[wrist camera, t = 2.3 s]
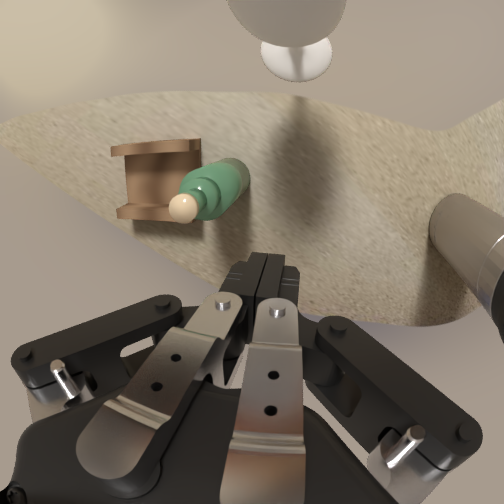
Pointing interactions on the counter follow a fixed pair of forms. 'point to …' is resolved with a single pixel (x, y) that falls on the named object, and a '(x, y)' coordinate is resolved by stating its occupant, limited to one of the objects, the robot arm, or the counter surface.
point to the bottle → (209, 191)
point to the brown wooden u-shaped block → (155, 175)
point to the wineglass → (291, 33)
